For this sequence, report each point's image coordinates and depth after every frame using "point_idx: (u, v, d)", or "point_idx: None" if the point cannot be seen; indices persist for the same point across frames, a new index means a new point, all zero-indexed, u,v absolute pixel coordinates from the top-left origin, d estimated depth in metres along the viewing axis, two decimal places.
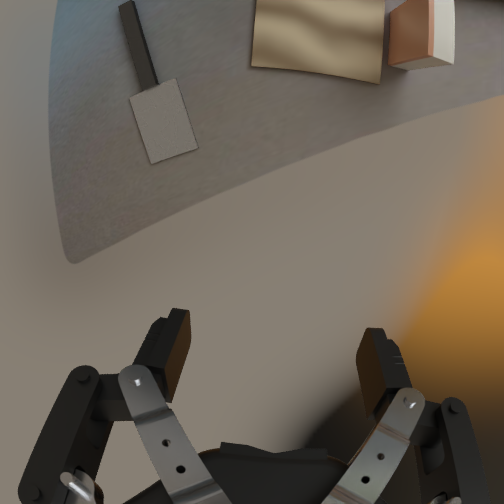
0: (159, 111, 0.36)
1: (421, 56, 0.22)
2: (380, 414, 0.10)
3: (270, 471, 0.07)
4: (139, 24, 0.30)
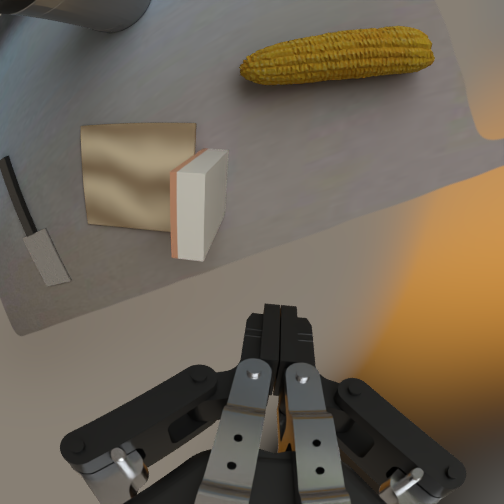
0: (41, 252, 0.44)
1: None
2: (280, 389, 0.11)
3: (270, 471, 0.07)
4: (14, 179, 0.38)
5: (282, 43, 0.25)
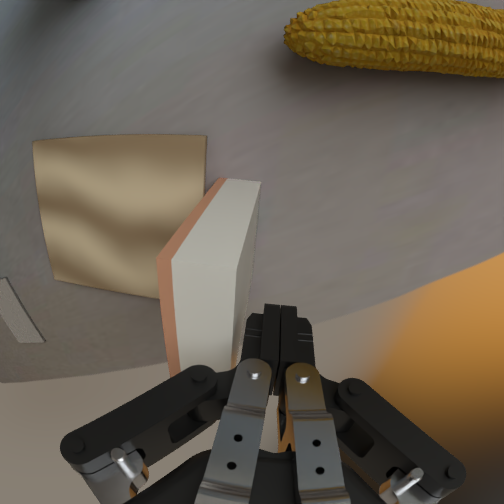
0: (6, 304, 0.30)
1: None
2: (280, 389, 0.11)
3: (270, 471, 0.07)
4: None
5: None
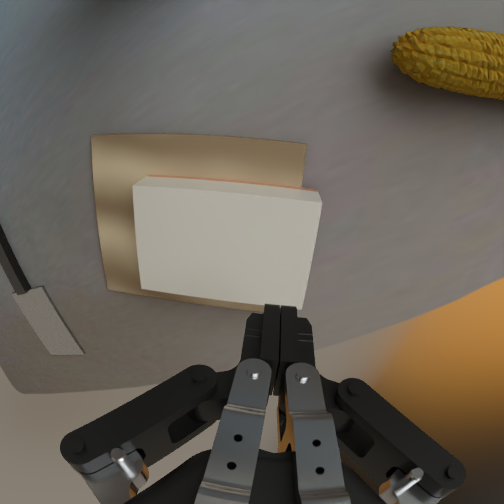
0: (40, 315, 0.30)
1: None
2: (280, 389, 0.11)
3: (270, 471, 0.07)
4: None
5: (460, 29, 0.12)
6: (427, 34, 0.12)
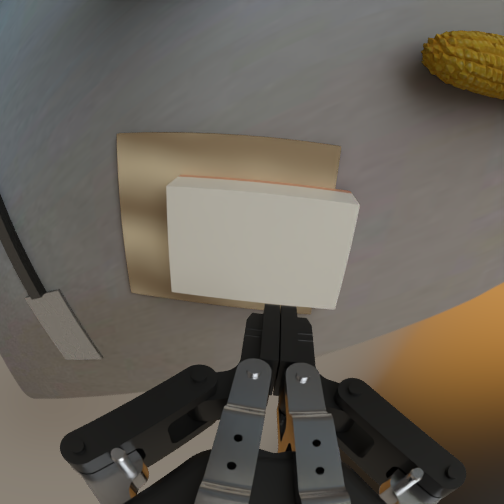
0: (55, 319, 0.30)
1: None
2: (280, 389, 0.11)
3: (270, 471, 0.07)
4: (5, 216, 0.24)
5: (485, 34, 0.11)
6: (456, 37, 0.12)
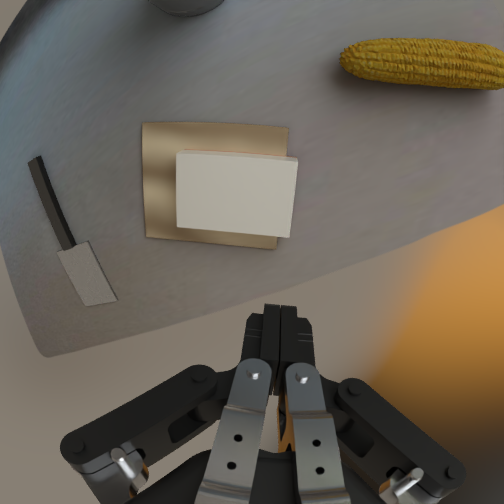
0: (81, 268, 0.41)
1: None
2: (280, 389, 0.11)
3: (270, 471, 0.07)
4: (48, 184, 0.35)
5: (387, 39, 0.22)
6: (362, 46, 0.23)
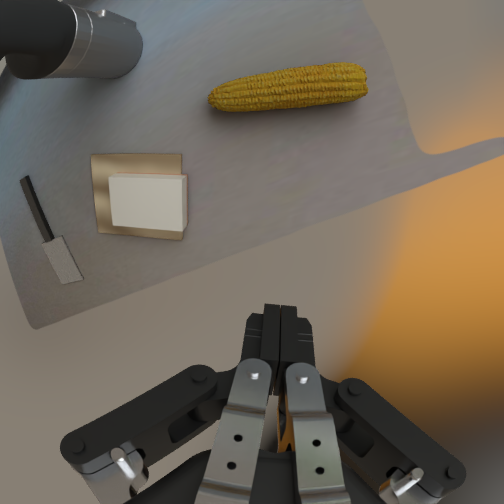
0: (58, 255, 0.54)
1: None
2: (280, 389, 0.11)
3: (270, 471, 0.07)
4: (34, 195, 0.48)
5: (240, 79, 0.35)
6: (220, 88, 0.36)
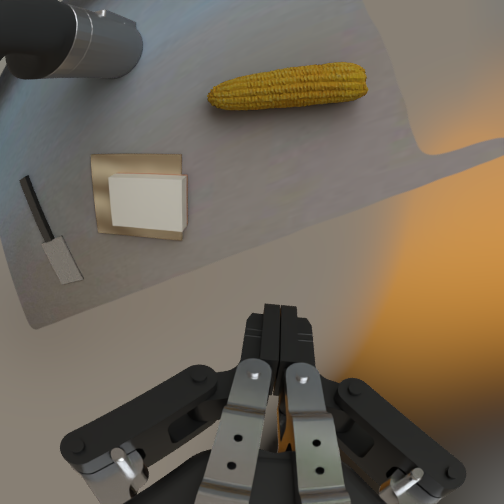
0: (58, 255, 0.54)
1: None
2: (280, 389, 0.11)
3: (270, 471, 0.07)
4: (34, 195, 0.48)
5: (240, 78, 0.35)
6: (220, 86, 0.36)
